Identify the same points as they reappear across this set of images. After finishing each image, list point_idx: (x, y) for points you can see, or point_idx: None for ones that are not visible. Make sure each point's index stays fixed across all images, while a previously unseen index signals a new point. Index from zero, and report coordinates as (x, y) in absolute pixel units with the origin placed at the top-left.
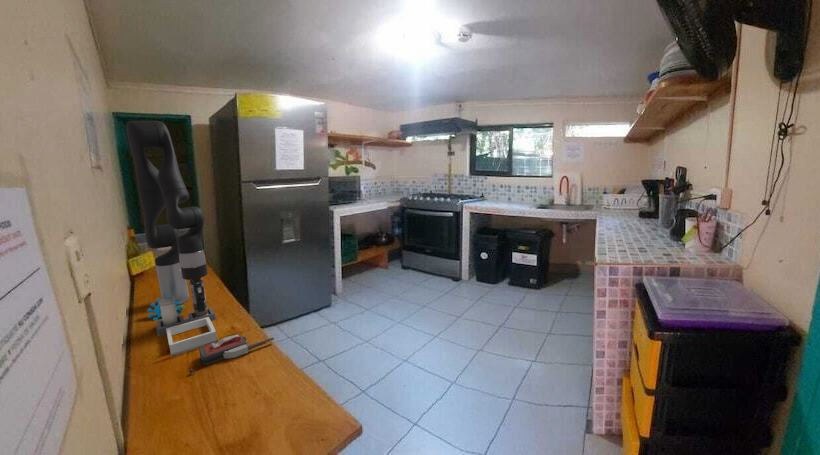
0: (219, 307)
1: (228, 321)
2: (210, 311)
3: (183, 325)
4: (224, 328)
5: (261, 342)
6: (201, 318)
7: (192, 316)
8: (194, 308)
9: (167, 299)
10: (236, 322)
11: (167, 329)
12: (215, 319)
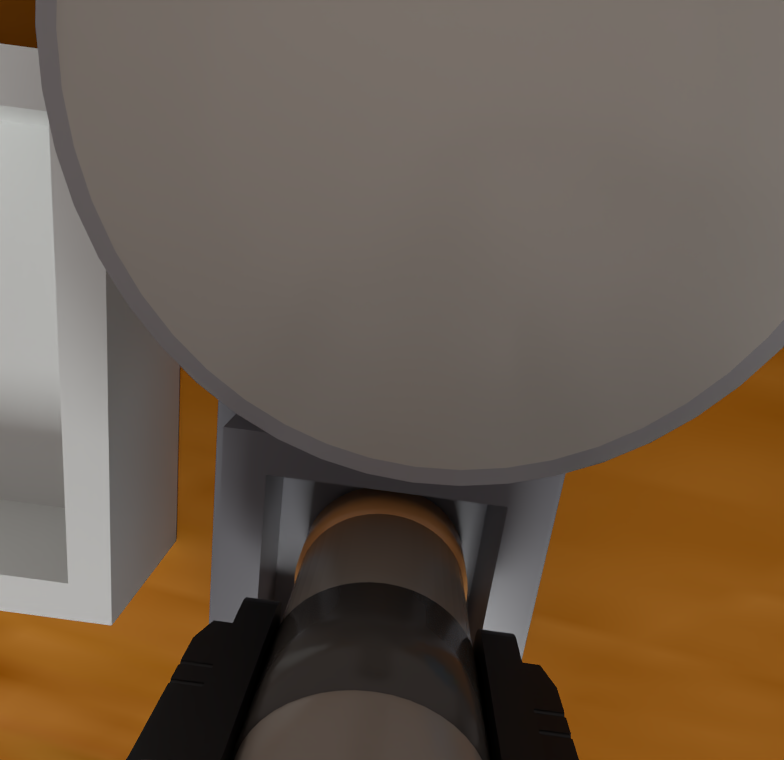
0: (663, 755)
1: (162, 689)
2: None
3: (63, 306)
4: (6, 613)
5: None
6: (220, 547)
7: (366, 487)
8: (333, 607)
9: (518, 153)
10: (74, 724)
11: (34, 67)
12: None
